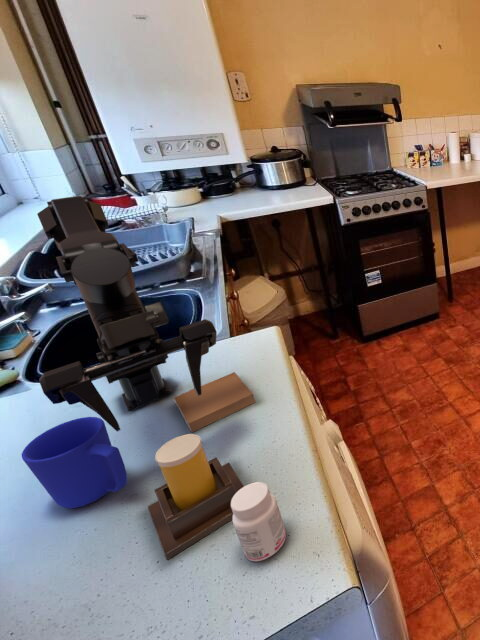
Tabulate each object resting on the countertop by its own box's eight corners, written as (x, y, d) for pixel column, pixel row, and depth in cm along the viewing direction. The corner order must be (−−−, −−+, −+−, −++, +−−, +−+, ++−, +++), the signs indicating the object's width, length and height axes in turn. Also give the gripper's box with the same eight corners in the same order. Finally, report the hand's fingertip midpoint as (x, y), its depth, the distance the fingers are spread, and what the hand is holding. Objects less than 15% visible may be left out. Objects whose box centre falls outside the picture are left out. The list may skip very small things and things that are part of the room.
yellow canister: (172, 499, 59) (151, 448, 56) (212, 477, 63) (194, 428, 59) (181, 521, 56) (159, 469, 53) (223, 496, 60) (205, 446, 56)
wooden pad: (176, 406, 80) (173, 397, 79) (237, 380, 87) (234, 371, 86) (191, 432, 74) (188, 423, 73) (255, 402, 81) (252, 393, 80)
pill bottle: (276, 519, 59) (262, 472, 55) (293, 540, 56) (279, 492, 53) (238, 546, 55) (220, 498, 52) (253, 571, 52) (236, 521, 49)
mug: (105, 526, 58) (76, 470, 54) (36, 511, 60) (3, 456, 57) (162, 476, 66) (140, 423, 62) (99, 464, 68) (74, 412, 64)
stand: (149, 511, 60) (140, 490, 59) (230, 466, 67) (223, 446, 65) (167, 560, 54) (156, 538, 52) (254, 505, 61) (247, 484, 59)
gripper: (8, 318, 51) (53, 438, 48) (194, 269, 64) (239, 362, 61) (33, 351, 59) (74, 455, 56) (195, 301, 72) (234, 385, 69)
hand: (161, 411), depth 60 cm, fingers open, 9 cm apart
